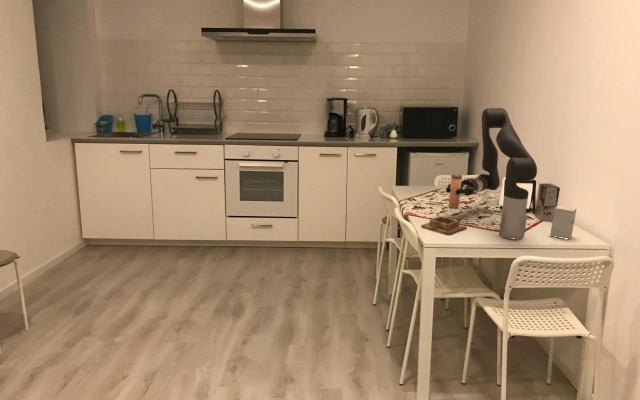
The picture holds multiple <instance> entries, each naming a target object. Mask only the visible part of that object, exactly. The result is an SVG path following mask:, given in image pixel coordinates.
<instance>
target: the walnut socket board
mask: <svg viewBox="0 0 640 400" xmlns="http://www.w3.org/2000/svg"><path fill="white" fill-rule="evenodd" d="M420 228H421V229H426V230H429V231H432V232H435V233H439V234H443V235H446V236H452V235H454V234H457V233H460V232H463V231H465V230H467V228H468V227H467V226H466V225H465V226H464V225H462V224H460V220H456V219H453V218H449V217H445V216H443V215H441V216H438V217H435V218H431V219H430V220H429V222H426V223H423V224H421V225H420Z"/></svg>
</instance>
